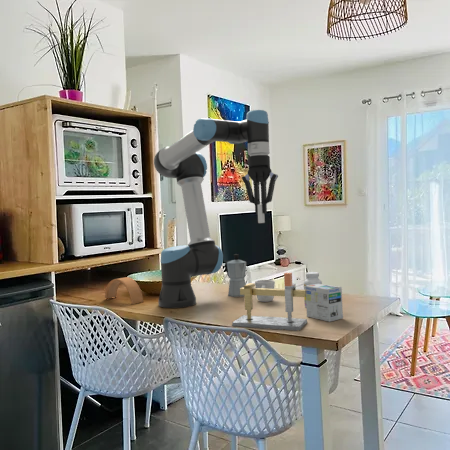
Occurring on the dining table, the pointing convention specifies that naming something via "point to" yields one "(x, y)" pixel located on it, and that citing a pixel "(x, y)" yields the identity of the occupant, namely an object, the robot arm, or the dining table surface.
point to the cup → (265, 284)
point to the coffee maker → (236, 275)
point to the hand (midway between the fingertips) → (261, 222)
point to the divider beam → (264, 294)
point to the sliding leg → (289, 294)
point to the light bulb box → (324, 302)
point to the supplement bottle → (311, 280)
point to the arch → (131, 287)
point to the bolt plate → (270, 322)
